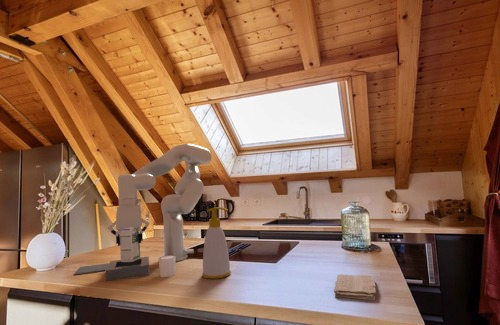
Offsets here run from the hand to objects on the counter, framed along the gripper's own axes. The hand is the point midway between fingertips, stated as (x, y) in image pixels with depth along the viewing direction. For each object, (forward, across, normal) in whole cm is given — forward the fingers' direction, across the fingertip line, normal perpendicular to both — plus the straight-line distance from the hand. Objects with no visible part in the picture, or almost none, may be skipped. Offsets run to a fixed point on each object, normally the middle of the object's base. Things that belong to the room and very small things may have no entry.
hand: (129, 243), depth 123 cm
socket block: (+12, +1, 0) cm, 12 cm away
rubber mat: (+12, +17, -14) cm, 25 cm away
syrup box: (+7, 0, 0) cm, 7 cm away
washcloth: (+13, -68, +59) cm, 91 cm away
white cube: (+12, -14, +12) cm, 23 cm away
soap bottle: (+13, -32, +22) cm, 41 cm away
